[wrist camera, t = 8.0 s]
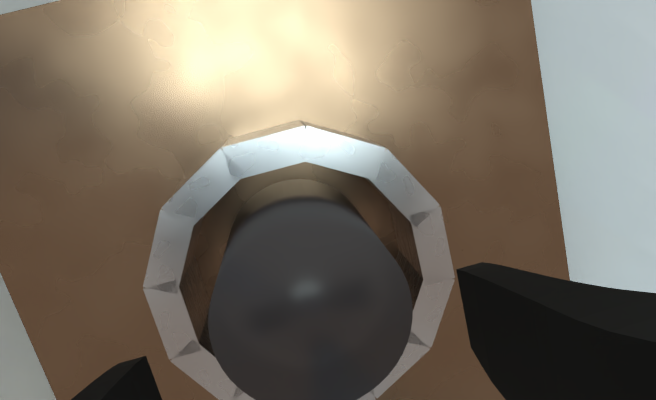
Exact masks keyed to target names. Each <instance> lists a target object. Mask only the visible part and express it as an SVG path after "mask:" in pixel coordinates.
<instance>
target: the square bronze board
mask: <svg viewBox="0 0 656 400" xmlns="http://www.w3.org/2000/svg"><path fill="white" fill-rule="evenodd" d="M291 179H307V180H313V181H318V182H321V183H324V184H327V185H329V186H331V187H333V188H335V189H336V190H338V191H339V192H340V193H342V194H343V195H344V196H345V197H346V198H348V199H349V201H350V202H351V203H352V204H353V205H354V206H355V208H356V209H357V210H358V212H359V213H360V214H361V216H362V217H363V218H364V220H365V221H366V222H367V224H368V225H369V226H370V227H371V229H372V230H373V231H374V233H375V234H376V235H377V237H378V238H379V239H380V241H381V242H382V243H383V244H384V246H385V247H386V248H387V250H388V251H389V252H390V254H391V255H392V256H393V258H394V259H395V260H396V262H397V263H398V265H399V266H400V268H401V270H402V271H403V273H404V276H405V278H406V280H407V282H408V286H409V289H410V293H411V299H412V306H413V319H412V326H411V332H410V336H409V339H408V343H407V345H406V347H405V350H404V352H403V354H402V356H401V358H400V359H399V361H398V363H397V365H396V366H395V367H394V368H393V370H392V371H391V372H390V374H389V375H388V376H387V377H386V378H385V379H384V380H383V381H382V382H381V383H380V384H379V385H378V386H376V387H375V388H374V389H373V390H371V391H370V392H369V393H367V394H365V395H364V396H362V397H361V398H359V399H357V400H506V399H505V398H504V397H503V396H502V394H501V393H500V392H499V391H498V389H497V388H496V387H495V386H494V384H493V383H492V382H491V380H490V378H489V377H488V375H487V374H486V372H485V370H484V369H483V367H482V366H481V364H480V362H479V360H478V359H477V357H476V355H475V354H474V352H473V350H472V349H471V346H470V340H469V335H468V330H467V324H466V319H465V314H464V309H463V303H462V298H461V293H460V287H459V282H458V277H457V272H456V269H459V268H463V267H466V266H470V265H473V264H477V263H481V262H484V263H492V264H498V265H502V266H507V267H511V268H516V269H520V270H524V271H528V272H532V273H537V274H541V275H545V276H549V277H554V278H558V279H563V280H568V281H570V279H569V271H568V264H567V257H566V250H565V243H564V236H563V228H562V221H561V214H560V207H559V200H558V193H557V185H556V178H555V171H554V164H553V157H552V150H551V142H550V135H549V128H548V121H547V114H546V107H545V99H544V92H543V85H542V78H541V71H540V64H539V57H538V49H537V42H536V35H535V28H534V21H533V14H532V6H531V0H60V1H56V2H52V3H48V4H43V5H39V6H35V7H31V8H27V9H22V10H18V11H14V12H10V13H6V14H2V15H0V273H1V275H2V277H3V279H4V282H5V284H6V286H7V288H8V291H9V293H10V295H11V297H12V300H13V302H14V304H15V307H16V309H17V311H18V313H19V316H20V318H21V320H22V322H23V325H24V327H25V329H26V331H27V334H28V336H29V338H30V341H31V343H32V345H33V347H34V350H35V352H36V354H37V356H38V359H39V361H40V363H41V365H42V368H43V370H44V372H45V375H46V377H47V379H48V381H49V384H50V386H51V388H52V390H53V393H54V395H55V397H56V399H57V400H71V399H72V398H73V397H75V396H76V395H77V394H78V393H79V392H81V391H82V390H83V389H84V388H86V387H87V386H88V385H89V384H90V383H92V382H93V381H94V380H95V379H97V378H98V377H99V376H101V375H102V374H103V373H105V372H106V371H107V370H109V369H110V368H112V367H113V366H115V365H117V364H118V363H122V362H125V361H129V360H132V359H136V358H140V357H143V356H146V357H147V360H148V363H149V365H150V368H151V371H152V373H153V376H154V379H155V381H156V384H157V387H158V390H159V392H160V395H161V398H162V400H255V399H254V398H252V397H250V396H249V395H247V394H246V393H244V392H243V391H242V390H240V389H239V388H238V387H237V386H236V385H235V384H234V383H233V382H232V381H231V380H230V379H229V378H228V376H227V375H226V374H225V372H224V371H223V370H222V368H221V366H220V364H219V363H218V361H217V359H216V357H215V354H214V352H213V349H212V346H211V341H210V337H209V329H208V314H209V307H210V301H211V297H212V293H213V290H214V287H215V283H216V280H217V276H218V273H219V269H220V266H221V263H222V259H223V256H224V252H225V249H226V245H227V242H228V238H229V235H230V232H231V228H232V226H233V223H234V220H235V218H236V216H237V214H238V213H239V211H240V210H241V208H242V207H243V205H244V204H245V203H246V202H247V201H248V200H249V199H250V198H251V197H252V196H254V195H255V194H256V193H257V192H259V191H260V190H262V189H264V188H265V187H267V186H270V185H272V184H274V183H277V182H281V181H285V180H291Z"/></svg>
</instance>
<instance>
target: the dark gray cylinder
mask: <svg viewBox="0 0 656 400" xmlns="http://www.w3.org/2000/svg"><path fill="white" fill-rule="evenodd" d="M412 319H413V306H412V299H411V293H410V289H409V286H408V282H407V280H406V278H405V276H404V273H403V271H402V270H401V268H400V266H399V265H398V263H397V262H396V260H395V259H394V258H393V256H392V255H391V254H390V252H389V251H388V250H387V248H386V247H385V246H384V244H383V243H382V242H381V241H380V239H379V238H378V237H377V235H376V234H375V233H374V231H373V230H372V229H371V227H370V226H369V225H368V224H367V222H366V221H365V220H364V218H363V217H362V216H361V214H360V213H359V212H358V210H357V209H356V208H355V206H354V205H353V204H352V203H351V202H350V201H349V199H348V198H346V197H345V196H344V195H343V194H342V193H340V192H339V191H338V190H336V189H335V188H333V187H331V186H329V185H327V184H324V183H321V182H318V181H313V180H307V179H291V180H285V181H281V182H277V183H274V184H272V185H270V186H267V187H265V188H264V189H262V190H260V191H259V192H257V193H256V194H255V195H254V196H252V197H251V198H250V199H249V200H248V201H247V202H246V203H245V204H244V205H243V207H242V208H241V210H240V211H239V213H238V214H237V216H236V218H235V220H234V223H233V226H232V228H231V232H230V235H229V238H228V242H227V245H226V249H225V252H224V256H223V259H222V263H221V266H220V269H219V273H218V276H217V280H216V283H215V287H214V290H213V293H212V297H211V301H210V307H209V314H208V329H209V337H210V341H211V346H212V349H213V352H214V354H215V357H216V359H217V361H218V363H219V364H220V366H221V368H222V370H223V371H224V372H225V374H226V375H227V376H228V378H229V379H230V380H231V381H232V382H233V383H234V384H235V385H236V386H237V387H238V388H239V389H240V390H242V391H243V392H244V393H246V394H247V395H249V396H250V397H252V398H254V399H255V400H357V399H359V398H361V397H362V396H364V395H365V394H367V393H369V392H370V391H371V390H373V389H374V388H375V387H376V386H378V385H379V384H380V383H381V382H382V381H383V380H384V379H385V378H386V377H387V376H388V375H389V374H390V372H391V371H392V370H393V368H394V367H395V366H396V365H397V363H398V361H399V359H400V358H401V356H402V354H403V352H404V350H405V347H406V345H407V343H408V339H409V336H410V332H411V326H412Z"/></svg>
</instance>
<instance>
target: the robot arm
mask: <svg viewBox="0 0 656 400" xmlns="http://www.w3.org/2000/svg"><path fill="white" fill-rule="evenodd" d="M456 272H457V277H458V282H459V287H460V293H461V298H462V303H463V309H464V314H465V319H466V324H467V330H468V335H469V340H470V346H471V349H472V350H473V352H474V354H475V355H476V357H477V359H478V360H479V362H480V364H481V366H482V367H483V369H484V370H485V372H486V374H487V375H488V377H489V378H490V380H491V382H492V383H493V384H494V386H495V387H496V388H497V389H498V391H499V392H500V393H501V394H502V396H503V397H504V398H505V399H506V400H656V293H648V292H639V291H630V290H621V289H614V288H607V287H601V286H595V285H589V284H584V283H578V282H573V281H568V280H563V279H558V278H554V277H549V276H545V275H541V274H537V273H532V272H528V271H524V270H520V269H516V268H511V267H507V266H502V265H498V264H492V263H484V262H481V263H477V264H473V265H470V266H466V267H463V268H459V269H456ZM71 400H162V398H161V395H160V392H159V390H158V387H157V384H156V381H155V379H154V376H153V373H152V371H151V368H150V365H149V363H148V360H147V357H146V356H143V357H140V358H136V359H132V360H129V361H125V362H122V363H118V364H117V365H115V366H113V367H112V368H110V369H109V370H107V371H106V372H105V373H103V374H102V375H101V376H99V377H98V378H97V379H95V380H94V381H93V382H92V383H90V384H89V385H88V386H87V387H86V388H84V389H83V390H82V391H81V392H79V393H78V394H77V395H76V396H75V397H73V398H72V399H71Z"/></svg>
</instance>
